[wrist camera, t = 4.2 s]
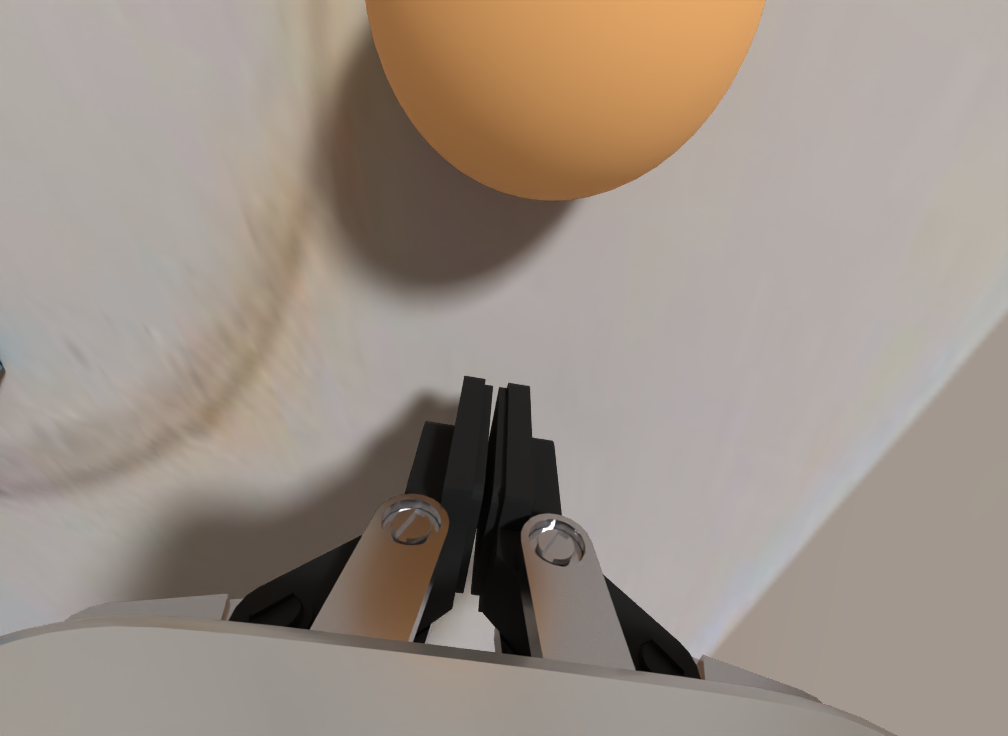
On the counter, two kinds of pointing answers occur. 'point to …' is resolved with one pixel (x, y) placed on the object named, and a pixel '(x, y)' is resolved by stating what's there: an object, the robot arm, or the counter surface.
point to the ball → (560, 83)
